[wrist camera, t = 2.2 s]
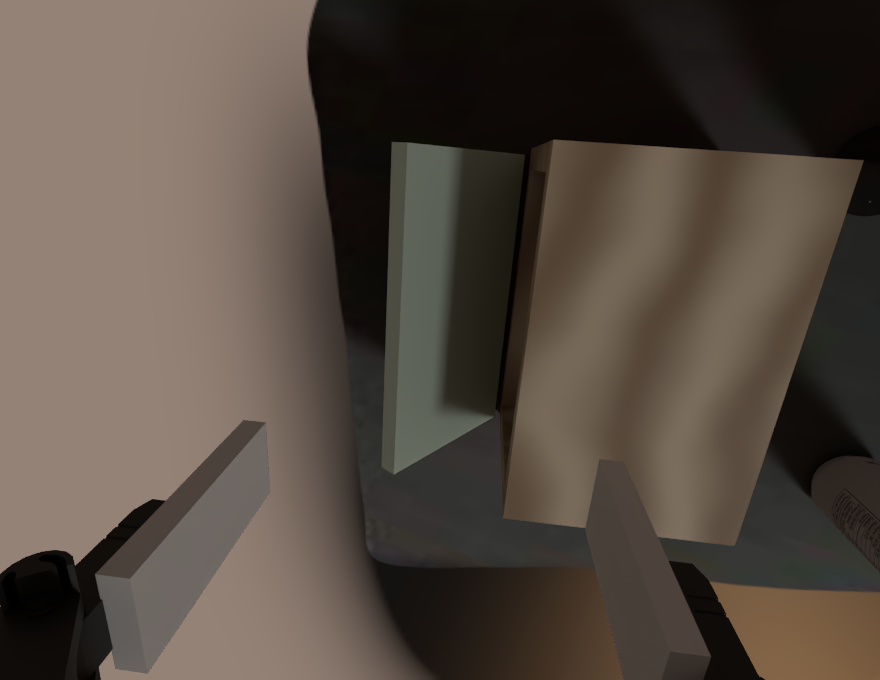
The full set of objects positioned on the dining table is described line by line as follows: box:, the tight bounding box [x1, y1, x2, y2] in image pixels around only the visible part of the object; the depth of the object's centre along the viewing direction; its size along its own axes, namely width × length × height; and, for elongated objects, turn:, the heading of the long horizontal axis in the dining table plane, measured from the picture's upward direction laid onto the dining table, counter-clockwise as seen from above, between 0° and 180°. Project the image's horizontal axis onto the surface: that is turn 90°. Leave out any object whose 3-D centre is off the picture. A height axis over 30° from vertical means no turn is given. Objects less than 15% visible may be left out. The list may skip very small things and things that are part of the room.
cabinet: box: [500, 140, 864, 546], centre depth 33 cm, size 14×22×14 cm, turn 176°
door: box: [382, 142, 525, 474], centre depth 35 cm, size 2×21×12 cm
